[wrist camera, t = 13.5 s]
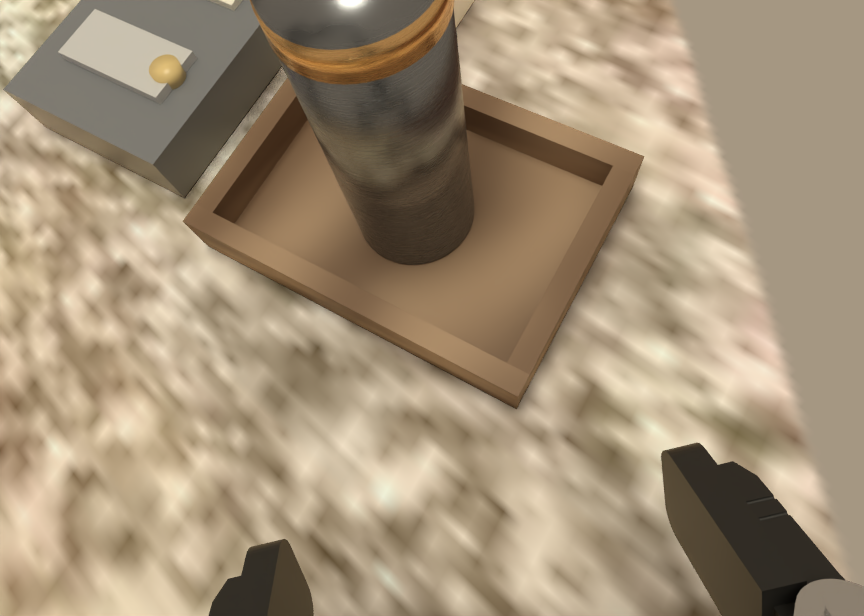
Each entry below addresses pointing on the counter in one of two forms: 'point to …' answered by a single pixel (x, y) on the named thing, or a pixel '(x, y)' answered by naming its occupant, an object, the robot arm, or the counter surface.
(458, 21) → the cream open square box
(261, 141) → the brown tray
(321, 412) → the counter surface
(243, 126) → the counter surface
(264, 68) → the checker
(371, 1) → the cell
